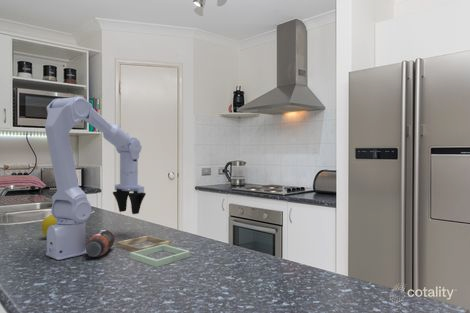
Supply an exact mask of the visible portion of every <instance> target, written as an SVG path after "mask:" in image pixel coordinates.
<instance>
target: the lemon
mask: <svg viewBox="0 0 470 313" xmlns="http://www.w3.org/2000/svg"><path fill="white" fill-rule="evenodd" d="M55 224H57V222H56V218H54V216H53V215H52V214H50V215H48V216H46V217H44V219H43V220H42V223H41V232H42V234H43V235H44V236H45V237H46V238H47V229H48V227H49V226H52V225H55Z"/></svg>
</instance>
